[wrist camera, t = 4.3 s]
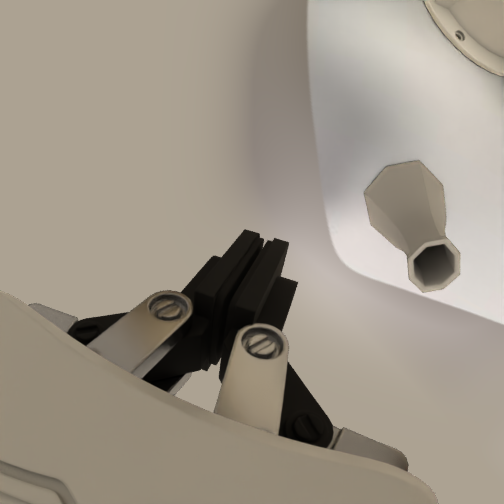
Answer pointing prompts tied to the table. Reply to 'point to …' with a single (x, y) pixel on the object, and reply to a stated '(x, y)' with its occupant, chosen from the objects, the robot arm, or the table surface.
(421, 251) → the flask
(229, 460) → the robot arm
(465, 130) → the table surface
